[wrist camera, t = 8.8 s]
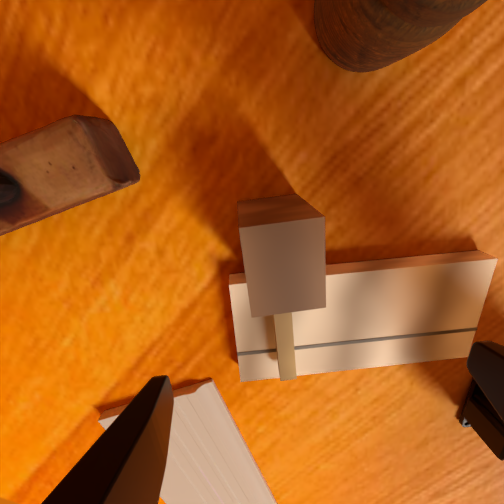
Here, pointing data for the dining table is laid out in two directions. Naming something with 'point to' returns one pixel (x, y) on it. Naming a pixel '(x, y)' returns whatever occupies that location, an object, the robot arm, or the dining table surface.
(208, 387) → the baseboard molding
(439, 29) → the utensil holder
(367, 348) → the board
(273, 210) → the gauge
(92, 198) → the hand plane
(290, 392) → the dining table surface
